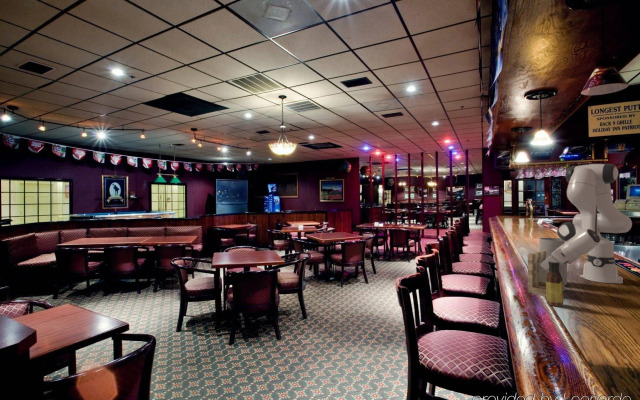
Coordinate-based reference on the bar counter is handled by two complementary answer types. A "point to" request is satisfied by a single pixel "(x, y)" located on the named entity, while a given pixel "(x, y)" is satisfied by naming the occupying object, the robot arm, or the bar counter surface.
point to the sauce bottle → (554, 285)
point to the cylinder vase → (551, 246)
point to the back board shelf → (536, 273)
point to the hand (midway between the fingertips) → (542, 270)
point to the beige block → (542, 275)
